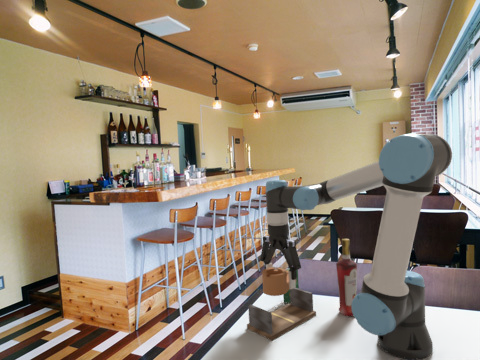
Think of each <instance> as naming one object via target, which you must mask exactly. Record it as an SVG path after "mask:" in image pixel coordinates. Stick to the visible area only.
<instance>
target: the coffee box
mask: <svg viewBox="0 0 480 360" xmlns="http://www.w3.org/2000/svg"><path fill="white" fill-rule="evenodd" d="M286 270H287V271H288V270H290V268H289V267H288V268H287V269H286ZM296 274H297V278H296V287H295V288H298V289H300V287H299V269H298V270H296ZM282 296H283V303H285V304H290V289H289V290H288V292H287V293H285V294H283V295H282Z"/></svg>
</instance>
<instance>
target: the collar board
mask: <svg viewBox="0 0 480 360" xmlns="http://www.w3.org/2000/svg"><path fill="white" fill-rule="evenodd" d="M247 308H248V323H247V324H246V328H247V329H248V330H249V331H251V332H253V333H256V335H257V334H258V335H260V336H262V337H264V338H266V339H268V340H270V341H274V340H275V339H277V338H279V337H281V336H282V335H284V334H286V333H288V332H290V331H291V330H293V329H294V328H297V327H298V326H300V325H302V324H304V323H305V322H307V321H310V320H311V319H312V318H315V317H317V311H315V310H314V296H313V292H312V291H308V290H304V289H302V288H299V289H298V288H293V289H290V303H287V304H285V305H284V306H282V307H279V308H278V309H276V310H273V311H271V312H270V311H268V310H265V309H263V308H261V307H258V306H256V305H253V304H249V305H248V307H247Z"/></svg>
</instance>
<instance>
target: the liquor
mask: <svg viewBox="0 0 480 360" xmlns="http://www.w3.org/2000/svg"><path fill="white" fill-rule="evenodd" d="M341 247H342V253H341V254H342V257H341V260H338V261H337V262H336V263H335V266H336V277H337V286H338V287H337V288H338V298H339V302H338V303H339V308H338V311H339V313H340V314H342V315H343V316H345V317H354V315H353V313H352V308H351V304H352V300H353V299H354V297H355V296H356V295H357V285H358V282H357V281H358V279H357V278H358V263H356V262H355V260H354V261H353V260H351V252H350V239H349V238H342V239H341Z"/></svg>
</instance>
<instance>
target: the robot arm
mask: <svg viewBox="0 0 480 360" xmlns="http://www.w3.org/2000/svg"><path fill="white" fill-rule="evenodd" d="M452 159H453V152H452V148H451V146H450V144H449V143H448V141H447V140H445V138H443V137H441V136H439V135H436V134H433V133H404V134H401V135H398V136H394V137H393V138H391V139H390V140H388V141H387V142H386V143H385V144H384V145H383V147H382V149H381V150H380V152H379V157H378V161H374V162H373V163H370V164H368V165H365V166H362V167H359V168H357V169H354V170H351V171H349V172H348V171H347V172H345V173H343V174H341V175H338V176H336V177H335V176H334V177H333V178H330V179H326V180H324V181H322V182H320V183H314V184H308V185H302V186H288V182H287V181H286V180H285V179H272V180H271V179H270V180H268V181H266V182H265V199H266V201H265V202H266V223H268V224H267V235H265V236H262V249H261V253H260V262H263V263H264V269H267V268H274V266H273V261H272V259H273V257H274V255H275V253H276V251H277V250H278V251H280V253H281V254H282V255H283V257H284V259H285V262H286V263H287V266H288V269H289V268H290V270H288V277H289V289H293V288H295V287H296V282H295V279H296V278H297V274H296V270H298V271H299V270H300V269H302V265H301V262H300V258H299V253H298V250H297V242H296V240H295V239H294V240H291V239H289V233H290V228H289V227H290V226H289V209H293V210H301V211H311V210H314V209H315V207H318V206H321V205H328V204H331V203H333V202H335V201H338V200H342V199H344V198H347V197H351V196H353V195H357V194H361V193H364V192H366V191H370V190H373V189H377V188H380V187H382V186H383V187H384V188H385V190H386V193H385V199H384V203H383V204H384V205H383V208H382V209H383V210H382V214H381V219H380V224H379V229H378V233H377V234H378V235H377V239H376V245H375V249H374V254H373V258H372V264H371V269H370V272H369V273H367V274H365V275H364V276H363V280H362V284H361V290H360V292H359V293H356V296H355V297H354V299H353V300H352V304H351V308H352V313H353V315H354V316H353V317H354V318H355V320H356V321H357V323H358V325H359V326H360V327H361V328H362V329H363V330H364V331H366V332H367V333H369V334H372V335H374V336H377V344H378V346H379V347H380V349H382V350H383V351H384V352H385V353H387V354H389V355H391V356H394V357H397V358H400V359H405V360H422V359H426V358H428V357H430V356H431V355H432V354H433V351H434V349H433V348H434V347H433V346H434V345H433V340H432V337H431V335H430V333H429V330H428V326H427V324H426V292H425V291H426V289H425V288H426V286H425V279H424V277H423V276H422V274H420V273H418V272H415V271H411V270H408V267H409V263H410V258H411V253H412V249H413V244H414V241H415V236H416V232H417V228H418V222H419V219H420V215H421V211H422V205H423V200H424V198H425V197H426V196H428V195H430V194H432V192H433V188H434V183H435V179H436V177H437V176H439V175H441V174H443V173H444V172H445V171H447V169H448V168H449V166H450V165H451V163H452Z"/></svg>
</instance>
